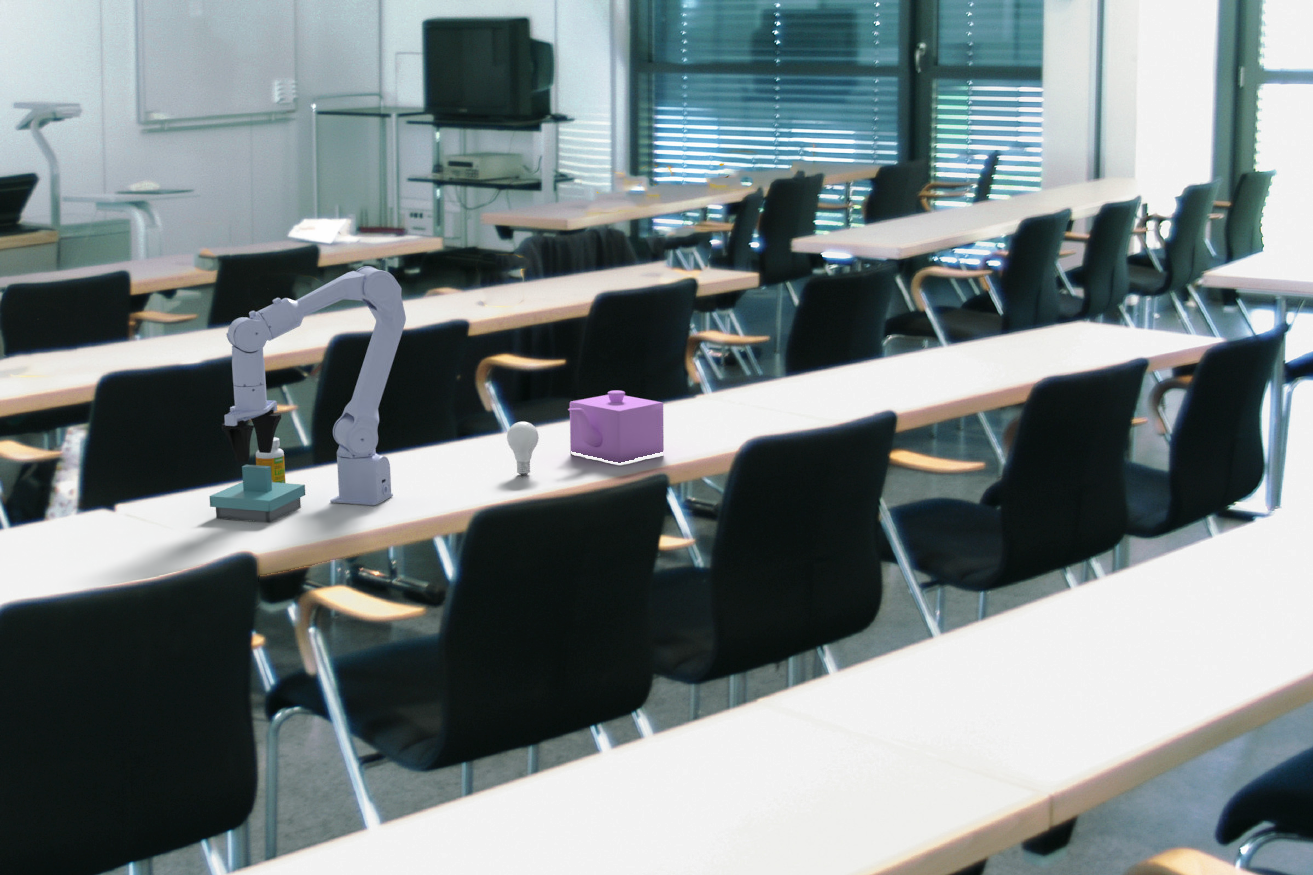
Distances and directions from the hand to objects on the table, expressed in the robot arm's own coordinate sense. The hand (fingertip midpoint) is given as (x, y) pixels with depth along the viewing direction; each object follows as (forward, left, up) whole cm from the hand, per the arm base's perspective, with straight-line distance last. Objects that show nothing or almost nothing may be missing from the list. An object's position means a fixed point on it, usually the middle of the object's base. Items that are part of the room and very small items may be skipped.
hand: (254, 456), depth 287 cm
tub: (-1, +1, -10) cm, 10 cm away
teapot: (-49, -61, -11) cm, 79 cm away
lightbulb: (-37, -40, -11) cm, 56 cm away
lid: (-1, +1, -8) cm, 8 cm away
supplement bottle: (+7, -17, -11) cm, 22 cm away
